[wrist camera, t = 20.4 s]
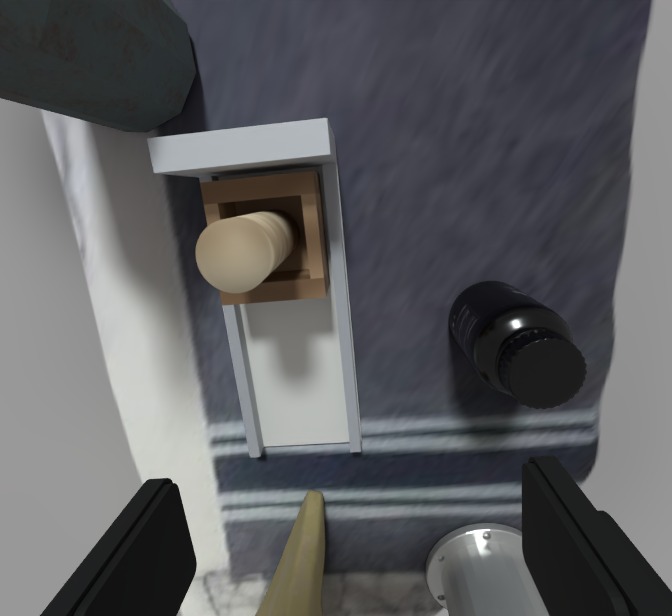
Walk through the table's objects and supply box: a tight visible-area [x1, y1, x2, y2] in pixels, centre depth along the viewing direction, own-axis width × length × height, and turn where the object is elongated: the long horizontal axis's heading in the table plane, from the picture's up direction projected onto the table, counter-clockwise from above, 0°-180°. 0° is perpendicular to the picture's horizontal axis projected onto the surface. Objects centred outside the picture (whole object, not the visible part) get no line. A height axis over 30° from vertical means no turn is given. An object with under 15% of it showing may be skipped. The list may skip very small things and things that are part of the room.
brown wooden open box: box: [200, 171, 330, 306], centre depth 31 cm, size 9×8×5 cm
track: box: [147, 118, 362, 457], centre depth 32 cm, size 28×11×9 cm, turn 5°
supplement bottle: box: [449, 281, 587, 409], centre depth 29 cm, size 7×7×12 cm
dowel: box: [196, 209, 300, 293], centre depth 27 cm, size 4×4×12 cm
